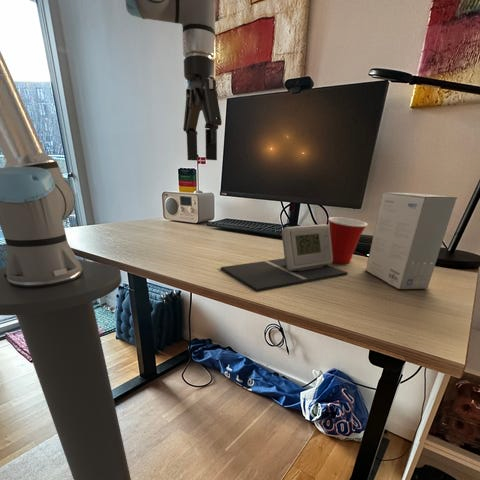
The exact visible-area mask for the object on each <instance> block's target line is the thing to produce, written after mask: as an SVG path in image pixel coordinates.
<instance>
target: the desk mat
mask: <svg viewBox="0 0 480 480" xmlns="http://www.w3.org/2000/svg"><path fill="white" fill-rule="evenodd" d="M220 270H222V271H223V272H224V273H227V274H228V275H230V276H231V277H233V278H234V279H236V280H237V281H240V282H241V283H242V284H245V285H246V286H248V287H249V288H251V289H252V290H254V291H256V292H261V291H267V290H272V289H277V288H281V287H287V286H292V285H293V286H294V285H298V284H304V283H308V282H313V281H320V280H324V279H330V278H336V277H340V276H346V275H348V272H347V271H346V270H342V269H339V268H337V267H334V266H331V265H324V266H323V267H319V268H313V269H307V270H302V271H298V270H295V271H288V270H287V268H286V266H285V265H284V258H278V259H269V260H261V261H256V262H255V261H254V262H248V263H241V264H240V263H239V264H233V265H227V266H220Z"/></svg>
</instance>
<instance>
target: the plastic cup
mask: <svg viewBox="0 0 480 480" xmlns="http://www.w3.org/2000/svg"><path fill="white" fill-rule="evenodd" d="M328 226H329V228H330V236H331V245H332V254H333V262H332V263H333V264H342V265H344V264H345V265H346V264H350V262H351V261H352V258H353V256H354V253H355V251H356V248H357V246H358V243H359V240H360V238H361V235H362V234H363V231H364V230H365V229H366V227H368V223H367V222H366V221H362V220H360V219H354V218H348V217H339V216H332V217H331V216H330V217H328Z"/></svg>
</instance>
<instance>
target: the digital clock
mask: <svg viewBox="0 0 480 480" xmlns="http://www.w3.org/2000/svg"><path fill="white" fill-rule="evenodd" d="M281 241H282V248H283V255H284V257H283V259H284V265H285V266H286V268H287V270H288V271H295V270H298V271H302V270H307V269H313V268H319V267H323V266H324V265H329V266H331V264H333V263H334V262H333V254H332V245H331V236H330V226H329V224H326V223H322V224H316V223H315V224H305V225H304V224H303V225H294V226H287V227H284V228H282V230H281Z"/></svg>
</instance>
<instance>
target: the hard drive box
mask: <svg viewBox="0 0 480 480" xmlns="http://www.w3.org/2000/svg"><path fill="white" fill-rule="evenodd" d="M457 199H458V197H456V196H446V195H436V194H427V193H426V194H425V193H413V192H411V193H410V192H382V195H381V198H380V204H379V208H378V213H377V217H376V221H375V225H374V230H373V234H372V235H373V236H372V241H371V244H370V249H369V254H368V258H367V261H366V267H365V271H366V272H368V273H370V274H372V275H373V276H375V277H377V278H379V279H381V280H382V281H384V282H385V283H387V284H388V285H390V286H392V287H394V288H396V289H398V290H417V289H418V290H421V289H422V290H423V289H424V290H425V289H429V285H430V283H431V279H432V276H433V273H434V270H435V267H436V264H437V261H438V257H439V254H440V250H441V248H442V246H443V245H442V244H443V242H444V239H445V236H446V233H447V230H448V226H449V223H450V220H451V217H452V214H453V210H454V208H455V204H456V202H457Z"/></svg>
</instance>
